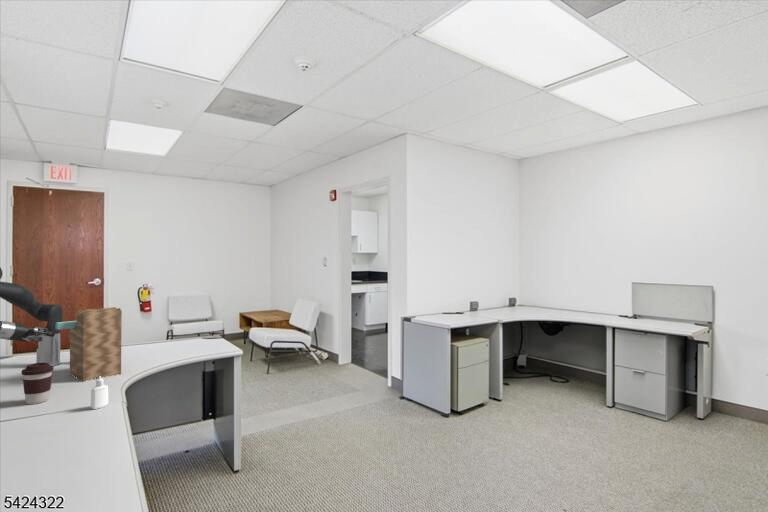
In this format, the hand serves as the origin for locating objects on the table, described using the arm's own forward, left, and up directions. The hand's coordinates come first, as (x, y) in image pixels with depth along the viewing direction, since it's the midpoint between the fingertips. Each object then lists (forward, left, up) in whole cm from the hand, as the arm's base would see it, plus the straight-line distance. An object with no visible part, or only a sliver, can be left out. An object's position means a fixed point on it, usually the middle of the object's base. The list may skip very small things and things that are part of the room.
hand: (47, 337), depth 193 cm
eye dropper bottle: (+51, -32, -21) cm, 64 cm away
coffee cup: (+21, -27, -21) cm, 40 cm away
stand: (+14, +12, -21) cm, 28 cm away
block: (+9, +14, +3) cm, 17 cm away
